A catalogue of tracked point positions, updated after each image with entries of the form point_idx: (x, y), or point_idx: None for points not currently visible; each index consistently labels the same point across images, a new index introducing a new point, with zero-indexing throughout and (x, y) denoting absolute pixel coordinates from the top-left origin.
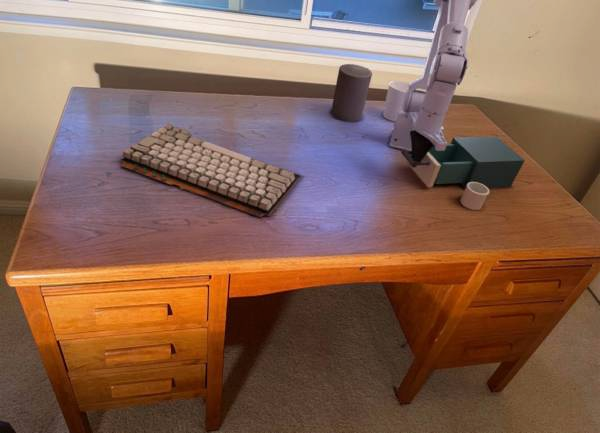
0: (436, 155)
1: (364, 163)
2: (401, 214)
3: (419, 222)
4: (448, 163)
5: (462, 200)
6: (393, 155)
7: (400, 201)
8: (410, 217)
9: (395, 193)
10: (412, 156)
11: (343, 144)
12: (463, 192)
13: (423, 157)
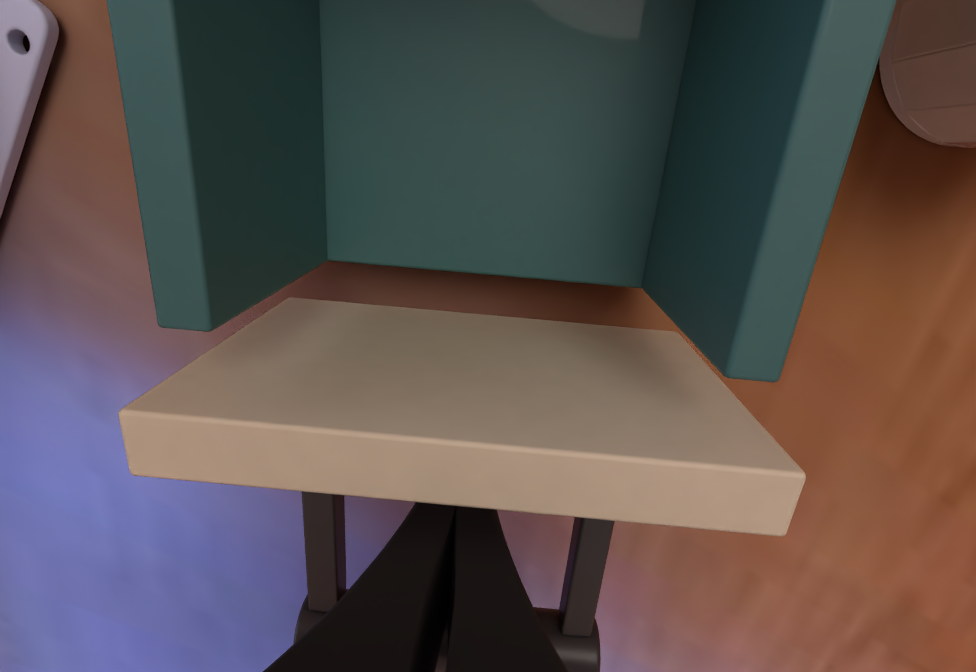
0: (277, 76)
1: (254, 606)
2: (819, 649)
3: (936, 596)
4: (794, 295)
5: (969, 145)
6: (120, 355)
7: (706, 597)
8: (869, 619)
9: (619, 585)
10: (444, 623)
11: (17, 628)
12: (974, 113)
13: (502, 535)
